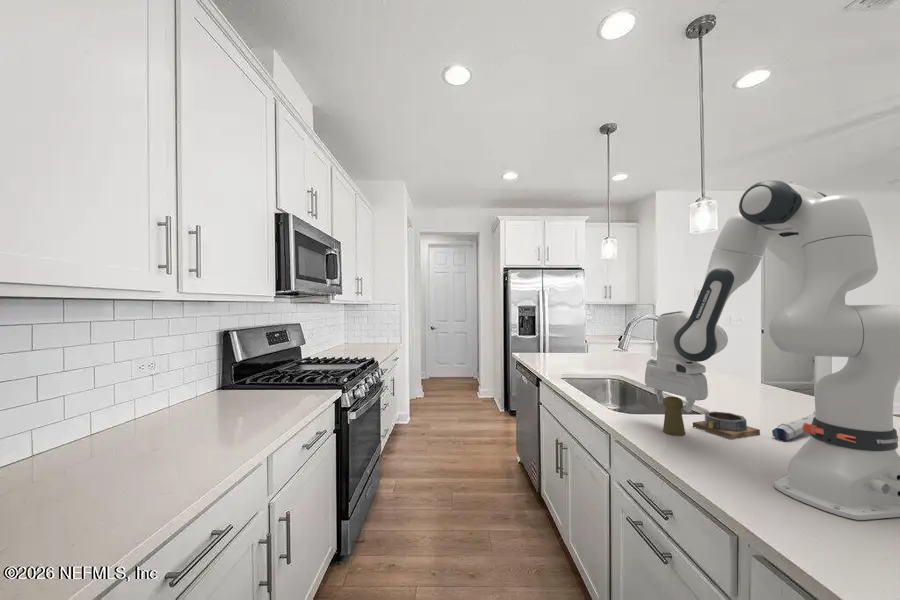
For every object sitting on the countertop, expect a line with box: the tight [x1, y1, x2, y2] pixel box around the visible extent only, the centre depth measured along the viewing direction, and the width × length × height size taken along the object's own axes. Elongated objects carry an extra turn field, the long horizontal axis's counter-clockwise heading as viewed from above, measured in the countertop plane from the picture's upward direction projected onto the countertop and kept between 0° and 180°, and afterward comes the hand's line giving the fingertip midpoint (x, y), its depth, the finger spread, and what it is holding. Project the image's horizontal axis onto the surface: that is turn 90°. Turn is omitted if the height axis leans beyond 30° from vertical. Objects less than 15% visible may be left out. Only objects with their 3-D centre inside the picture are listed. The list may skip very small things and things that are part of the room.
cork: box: [662, 395, 686, 437], centre depth 114 cm, size 6×6×11 cm
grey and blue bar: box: [771, 410, 815, 442], centre depth 111 cm, size 5×7×25 cm
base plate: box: [692, 420, 761, 440], centre depth 115 cm, size 12×12×2 cm
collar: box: [704, 411, 748, 432], centre depth 115 cm, size 11×10×3 cm
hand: (674, 407), depth 115 cm, fingers open, 8 cm apart
